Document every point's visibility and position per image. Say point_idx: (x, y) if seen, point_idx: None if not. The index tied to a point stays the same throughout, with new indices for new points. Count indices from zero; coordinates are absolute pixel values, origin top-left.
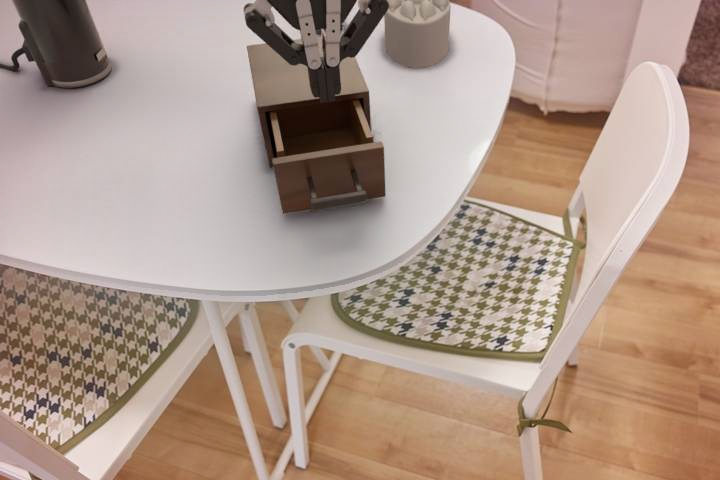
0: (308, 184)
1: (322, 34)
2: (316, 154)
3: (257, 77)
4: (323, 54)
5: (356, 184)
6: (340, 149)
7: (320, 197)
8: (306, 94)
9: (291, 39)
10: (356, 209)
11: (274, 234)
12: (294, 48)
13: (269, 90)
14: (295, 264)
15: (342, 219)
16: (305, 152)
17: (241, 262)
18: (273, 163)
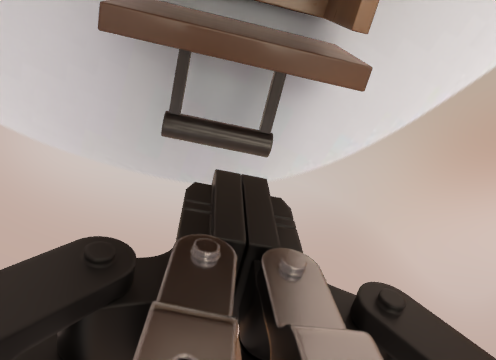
0: (176, 67)
1: (270, 346)
2: (210, 42)
3: None
4: (252, 280)
5: (267, 114)
6: (271, 51)
7: (183, 127)
8: None
9: (94, 304)
10: None
11: (107, 43)
12: (95, 355)
13: None
14: (125, 130)
15: (236, 65)
16: None
17: (37, 85)
18: (99, 25)
